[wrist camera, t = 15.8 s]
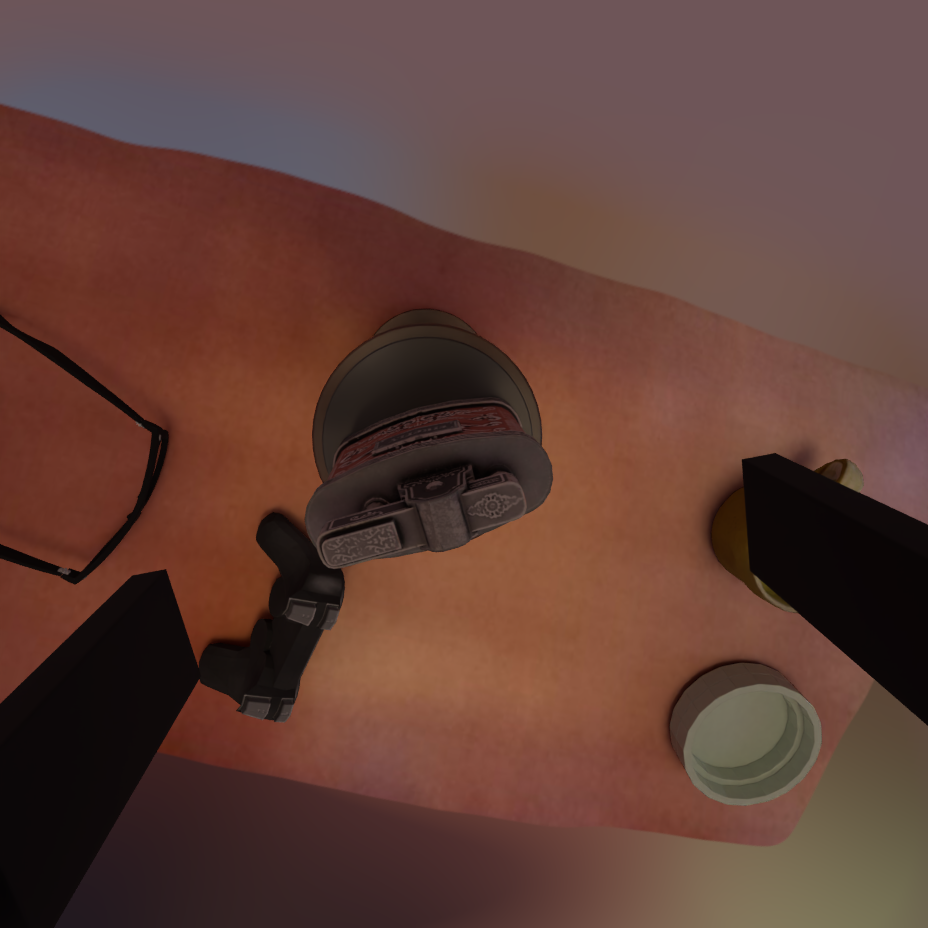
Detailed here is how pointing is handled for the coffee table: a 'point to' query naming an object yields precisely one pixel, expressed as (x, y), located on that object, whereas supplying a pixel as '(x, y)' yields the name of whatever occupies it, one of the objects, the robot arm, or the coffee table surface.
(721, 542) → the mug
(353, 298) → the coffee table surface
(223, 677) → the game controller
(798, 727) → the bowl
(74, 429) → the coffee table surface
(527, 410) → the stand
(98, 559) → the glasses
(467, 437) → the lighter
